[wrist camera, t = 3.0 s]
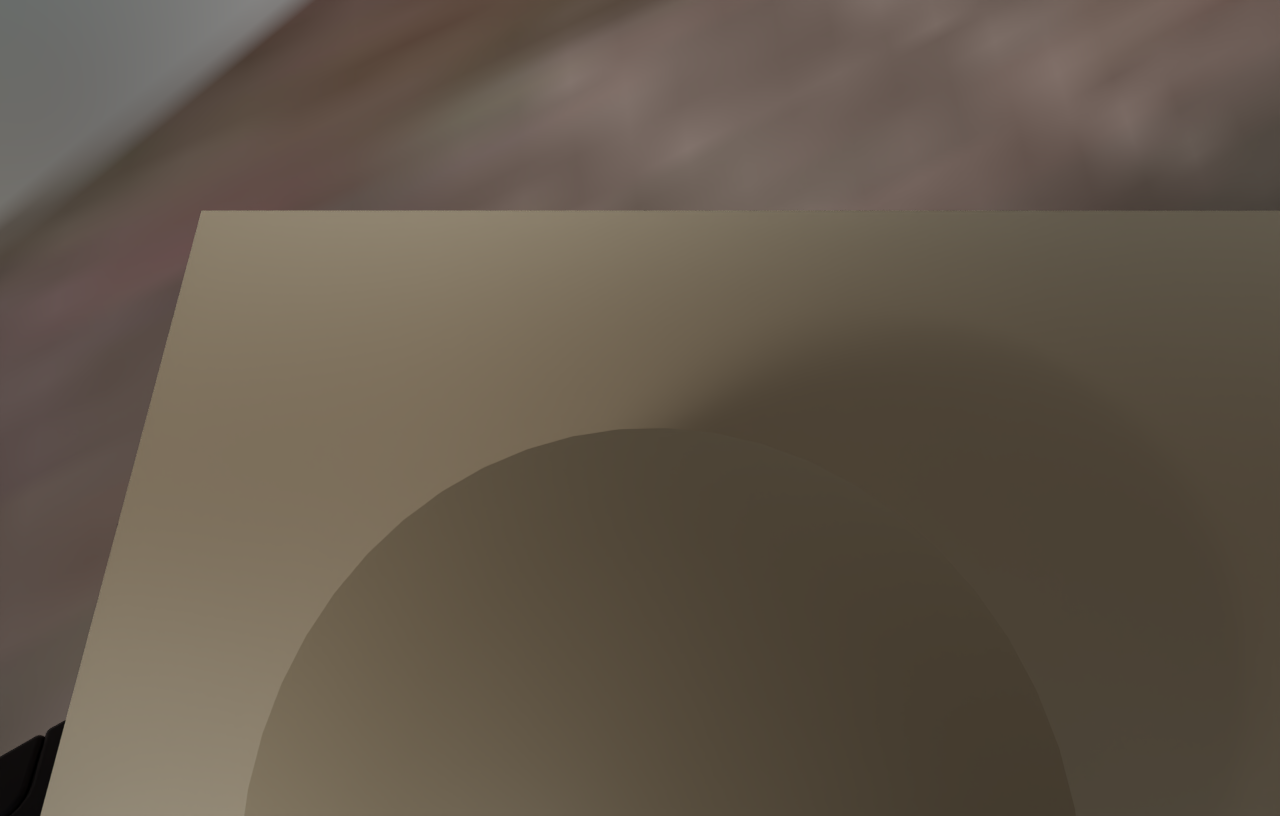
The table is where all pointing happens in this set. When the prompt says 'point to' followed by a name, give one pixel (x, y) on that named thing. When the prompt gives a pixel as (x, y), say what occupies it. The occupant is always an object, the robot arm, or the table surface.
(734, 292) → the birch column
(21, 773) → the robot arm
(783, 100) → the table surface
